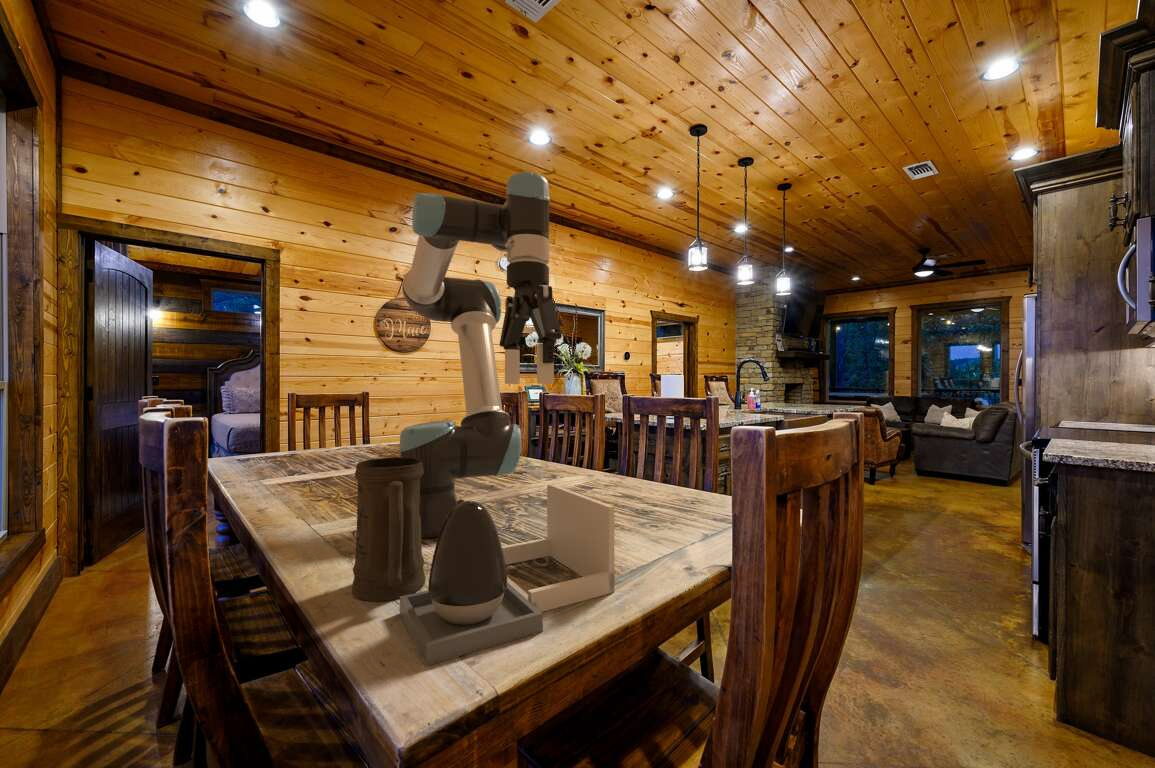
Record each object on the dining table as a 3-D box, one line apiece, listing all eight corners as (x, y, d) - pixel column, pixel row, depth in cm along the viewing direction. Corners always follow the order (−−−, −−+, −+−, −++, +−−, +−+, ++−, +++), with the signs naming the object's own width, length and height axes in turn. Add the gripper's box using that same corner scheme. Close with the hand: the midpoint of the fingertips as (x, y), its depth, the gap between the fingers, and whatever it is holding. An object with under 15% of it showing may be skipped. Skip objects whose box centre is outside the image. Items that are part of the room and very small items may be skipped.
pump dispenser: (494, 592, 71) (495, 489, 71) (517, 624, 62) (517, 505, 62) (422, 606, 67) (423, 496, 67) (435, 642, 57) (435, 514, 57)
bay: (480, 567, 83) (480, 492, 83) (551, 553, 90) (552, 483, 90) (531, 614, 66) (531, 519, 66) (614, 592, 73) (614, 506, 73)
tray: (399, 613, 66) (399, 596, 66) (499, 590, 74) (499, 575, 74) (426, 666, 54) (426, 645, 54) (542, 631, 61) (542, 613, 61)
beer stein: (343, 581, 77) (345, 457, 76) (411, 566, 83) (414, 452, 82) (367, 627, 65) (369, 479, 63) (444, 605, 71) (448, 471, 70)
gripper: (483, 275, 94) (482, 383, 94) (541, 243, 73) (540, 383, 73) (518, 280, 98) (518, 384, 98) (582, 250, 77) (582, 383, 77)
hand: (527, 384), depth 86 cm, fingers open, 13 cm apart
